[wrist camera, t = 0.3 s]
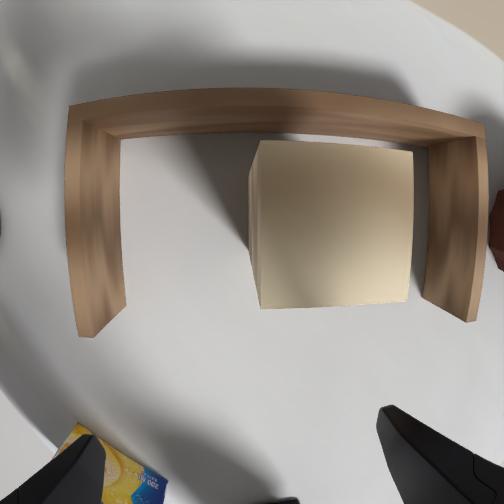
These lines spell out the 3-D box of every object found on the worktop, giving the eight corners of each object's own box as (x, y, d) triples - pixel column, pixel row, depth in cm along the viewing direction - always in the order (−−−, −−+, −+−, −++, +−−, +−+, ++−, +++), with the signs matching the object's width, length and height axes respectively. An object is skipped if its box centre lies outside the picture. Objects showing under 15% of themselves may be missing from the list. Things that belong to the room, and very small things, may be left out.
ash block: (320, 249, 21) (407, 301, 10) (248, 250, 21) (260, 309, 9) (321, 177, 21) (412, 151, 9) (248, 175, 20) (260, 140, 9)
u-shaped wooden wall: (431, 297, 22) (475, 320, 17) (114, 305, 21) (78, 336, 16) (436, 137, 20) (484, 124, 15) (108, 127, 19) (69, 106, 14)
